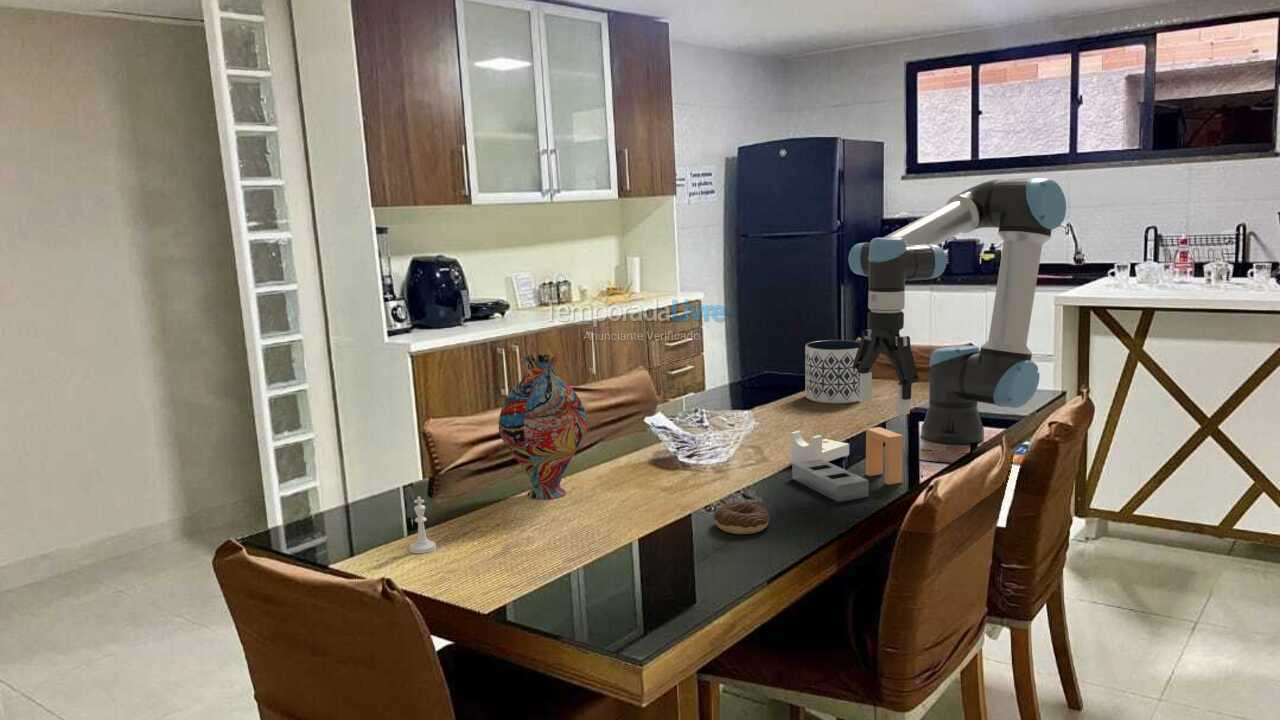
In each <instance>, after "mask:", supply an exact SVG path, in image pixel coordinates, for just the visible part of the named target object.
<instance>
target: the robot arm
mask: <svg viewBox="0 0 1280 720" xmlns="http://www.w3.org/2000/svg"><path fill="white" fill-rule="evenodd" d="M1066 213H1067V201H1066V196H1065V193H1064V191H1063V190H1062V187H1061V186H1060V184H1058V183H1057V182H1056V180H1053V179H1051V178H1043V177H1041V178H1040V177H1029V178H1028V177H1027V178H1026V177H1025V178H1005V179H1003V178H999V179H998V178H997V179H992V180H988V181H984V182H982V183H980V184H976V185H975V186H972V187H970V188H968V189H965V190H964V191H962V192H960V193H958V194H956V195H954V196H952V197H951V198H950V199H948V201H947V202H946V204H945V205H943V206H941V207H939V208H938V209H936V210H934V211H932V212H930V213H928V214H925V215H924V216H922V217H921V218H918V219H915V220H914V221H912V222H911V223H909V224H907V225H905V226H903V227H901V228H899V229H897V230H895V231H893V232H892V233H889V234H887V235H885V236H883V237H874V238H872V239H871V240H870V241H869V242H867V241H866V242H859V243H857V244H854V245H853V247H851V249H850V250H849V254H848V259H847V261H848V265H849V268H850V270H851V271H852V272H853V273H854V274H855V275H859V276H864V277H866V278H867V277H868V287H867V288H868V295H867V297H868V301H867V303H868V304H867V308H868V309H869V311H868V312H867V328H868V329H862V331H861V340H860V341H859V342H860V345H859V348H858V351H857V354H856V357H855V360H854V363H853V368H854V369H857V371H858V373H859V402H858V403H861V404H862V403H871V402H872V389H873V388H872V387H873V385H872V384H873V373H872V367H873V365H874V364H875V362H876V360H877V359H878V358H879V356H880V355H881V354H882V355H884V356H886V358H888V359H889V360H890V362H891V365H892V367H893V369H894V371H895V374H896V375H897V378H898V381H899V382H898V383H897V388H896V390H897V391H896V392H897V393H896V395H897V397H896V415H898V416H902V415H910V411H911V398H912V385H913V384H915V383H919V382H920V377H919V373H918V370H917V367H916V366H917V365H916V361H915V360H914V355H913V351H912V348H911V338H910V336H908V335H906V336H905V335H904V336H901V335H900V331H901V330H902V329H904V327H905V313H904V311H902V310H904V309H905V302H906V301H905V299H906V298H905V297H906V295H905V294H906V293H905V286H906V282H907V281H918V280H919V281H921V280H927V281H928V280H930V279H935V278H938V277H940V276H941V275H942V274H943V273H944V272H945V270H946V268H947V256H946V253H945V251H944V249H943V248H942V247H940V246H939V245H940V244H941V243H943V242H945V241H948V240H950V239H951V238H953V237H955V236H957V235H959V234H960V233H963V234H969V233H971V232H973V231H975V230H978V229H983V228H998V232H997V234H998V235H999V237H1000V238H1001V239H1002V241H1003V244H1002V251H1001V257H1000V263H999V264H1000V265H999V270H998V276H997V283H996V290H995V294H994V295H995V296H994V302H993V310H992V314H991V321H990V328H989V333H988V340H987V341H986V342H985V343H984V344H982V345H981V346H980V347H979V346H978V345H958V346H957V345H956V346H955V345H954V346H945V347H940V348H935V349H933V350H932V352H931V353H930V358H929V359H930V360H929V366H928V367H929V368H928V369H929V372H928V374H929V375H928V376H929V384H928V387H929V389H928V390H929V392H928V396H929V399H928V408H927V411H926V414H925V417H924V420H923V423H922V425H921V431H920V433H921V435H920V436H921V438H924V439H925V440H927V441H931V442H935V443H941V444H942V443H943V444H950V445H965V444H974V443H978V442H981V441H983V440H984V439H985V429H984V426H983V423H982V422H983V421H982V419H981V415H980V413H979V408H978V403H983V404H989V405H993V406H997V407H999V408H1011V409H1017V408H1021V407H1023V406H1025V405H1027V403H1029V401H1030V400H1032V398H1033V397H1034V395H1035V394H1036V392H1037V390H1038V387H1039V384H1040V375H1041V374H1040V370H1039V367H1038V365H1037V364H1036V363H1035V362H1034V361H1032V358H1033V357H1032V356H1033V352H1032V351H1031V349H1029V347H1028V344H1027V343H1028V338H1029V332H1030V331H1029V330H1030V324H1031V319H1032V312H1033V306H1034V299H1035V294H1036V286H1037V283H1038V281H1037V280H1038V274H1039V268H1040V263H1041V262H1040V261H1041V255H1042V248H1043V245H1044V244H1045V243H1046V242H1047V241H1049V240H1050V239H1051V235H1052V231H1053V230H1055V229H1057V228H1060V226H1061V225H1062V223H1063V222H1064V221H1065V217H1066ZM859 362H861V363H859Z"/></svg>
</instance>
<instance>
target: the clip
mask: <svg viewBox="0 0 1280 720" xmlns="http://www.w3.org/2000/svg"><path fill="white" fill-rule="evenodd" d="M884 444H885V445H884ZM884 446H885V447H884ZM884 448H885V449H884ZM903 448H904V435H903V434H901V433H897V432H894V431H892V430H889V429H886V428H883V427H880V426H877V427H870V428H866V431H865V475H866V476H868V477H873V476H879V475H883V474H884V484H886V485H893V484H894V485H895V484H901V483H903V461H904V460H903V452H904V451H903ZM883 465H884V466H883ZM883 468H884V469H883ZM883 471H884V473H883Z"/></svg>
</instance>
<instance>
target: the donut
mask: <svg viewBox="0 0 1280 720" xmlns="http://www.w3.org/2000/svg"><path fill="white" fill-rule="evenodd" d="M713 520H714V523H715V525H716V526H717V528H719V529H720V530H722V531H723V532H725V533H730V534H734V535H750V534H751V535H752V534H756V533H759V532H761V531H763V530H765V528H767V526H768V524H769V522H770V520H771V519H770V515H769V512H768V511H767V510H766V509H765V508H764V507H762V506H760V505H759V504H756V503H750V502H746V501H745V502H742V501H737V502H734V501H733V502H726V503H723V504H722V505H721V506H719V507H718V508H717V509H716V511H715V512H714V516H713Z"/></svg>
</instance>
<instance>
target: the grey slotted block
mask: <svg viewBox="0 0 1280 720" xmlns="http://www.w3.org/2000/svg"><path fill="white" fill-rule="evenodd" d="M791 464H792V465H791V466H792V467H791V468H792V469H791V470H792V471H791V472H792V473H791V474H792V475H791V476H792V477H791V479H793V480H794V481H796V482H797V483H800V484H801V485H804V486H806V487H807V488H810V489H811V490H814V491H815V492H817V493H819V494H820V495H821V494H822V495H823V496H826V497H827V498H829V499H830V500H833V501H834V502H837V503H840V502H845V501H851V500H858V499H863V498H869V494H870V493H869V492H870V491H869V490H870V481H869V480H868V479H867V478H864V477H862V476H860V475H857V474H855V473H853V472H851V471H849V470H846V469H844V468H842V467H840V466H838V465H836V464H834V463H831V462H830V461H828V462H827V461H825V460H822V459H819V460H812V461H806V462H799V463H791Z"/></svg>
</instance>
